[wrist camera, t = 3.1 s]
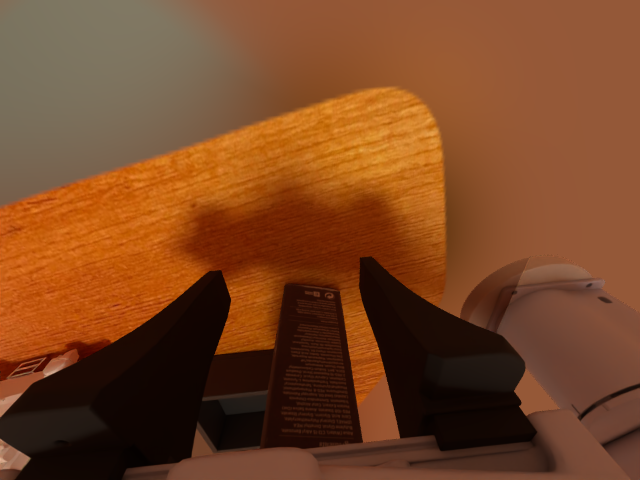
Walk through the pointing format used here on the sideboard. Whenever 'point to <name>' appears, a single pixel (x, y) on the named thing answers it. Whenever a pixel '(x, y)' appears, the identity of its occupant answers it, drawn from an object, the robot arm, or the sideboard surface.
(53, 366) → the toy car
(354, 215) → the sideboard surface
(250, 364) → the bin
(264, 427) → the box
